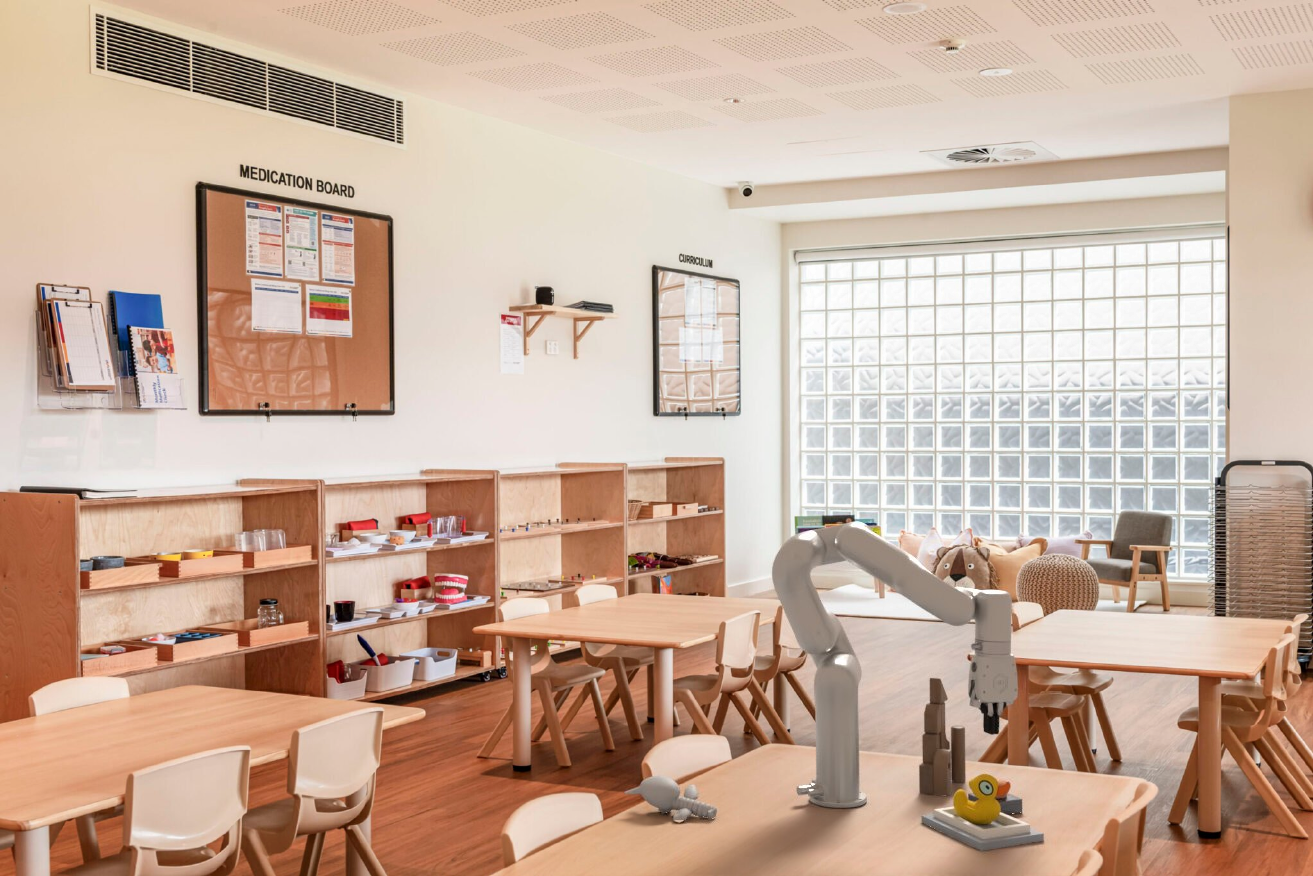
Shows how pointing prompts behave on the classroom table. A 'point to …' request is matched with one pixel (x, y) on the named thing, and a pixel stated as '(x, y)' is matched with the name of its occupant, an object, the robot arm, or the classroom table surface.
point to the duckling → (980, 800)
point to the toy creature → (673, 798)
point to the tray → (983, 830)
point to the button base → (1005, 803)
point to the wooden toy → (940, 747)
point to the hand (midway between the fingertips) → (991, 732)
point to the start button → (1001, 782)
